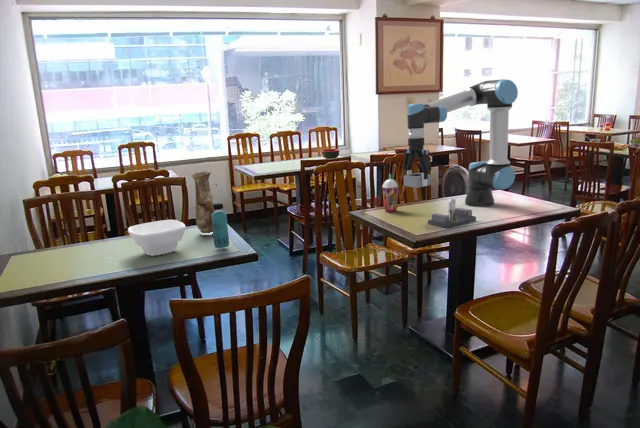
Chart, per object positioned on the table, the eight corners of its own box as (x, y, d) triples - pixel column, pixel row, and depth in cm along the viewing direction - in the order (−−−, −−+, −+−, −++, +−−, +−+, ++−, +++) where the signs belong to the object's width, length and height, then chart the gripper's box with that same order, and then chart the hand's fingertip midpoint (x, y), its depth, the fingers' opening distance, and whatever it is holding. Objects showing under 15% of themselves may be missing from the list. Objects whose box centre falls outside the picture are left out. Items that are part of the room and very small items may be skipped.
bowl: (126, 252, 213) (122, 227, 211) (176, 242, 226) (173, 217, 223) (141, 265, 196) (137, 236, 193) (194, 253, 208) (191, 226, 205)
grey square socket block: (417, 182, 242) (416, 172, 241) (430, 184, 235) (430, 174, 234) (403, 185, 238) (403, 175, 236) (417, 187, 230) (417, 177, 229)
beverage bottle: (217, 247, 214) (212, 202, 210) (232, 247, 213) (227, 201, 209) (212, 251, 208) (207, 205, 203) (227, 251, 207) (223, 205, 203)
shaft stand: (456, 216, 244) (456, 194, 242) (476, 220, 234) (476, 198, 232) (427, 224, 233) (427, 201, 231) (447, 228, 224) (447, 204, 221)
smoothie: (395, 213, 258) (394, 175, 254) (380, 212, 262) (379, 175, 258) (400, 209, 265) (400, 173, 261) (386, 209, 269) (385, 172, 265)
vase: (223, 232, 238) (217, 171, 231) (204, 237, 231) (197, 174, 224) (211, 229, 245) (205, 169, 239) (192, 234, 238) (185, 172, 231)
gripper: (394, 137, 238) (395, 183, 243) (427, 138, 220) (428, 188, 225) (405, 136, 242) (406, 181, 247) (439, 137, 224) (439, 186, 230)
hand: (417, 184), depth 236 cm, fingers closed on grey square socket block, 9 cm apart
